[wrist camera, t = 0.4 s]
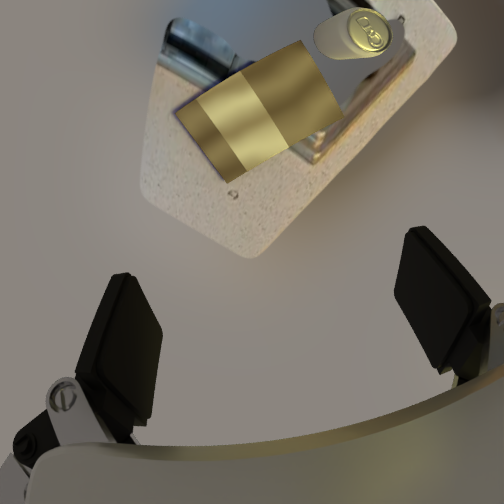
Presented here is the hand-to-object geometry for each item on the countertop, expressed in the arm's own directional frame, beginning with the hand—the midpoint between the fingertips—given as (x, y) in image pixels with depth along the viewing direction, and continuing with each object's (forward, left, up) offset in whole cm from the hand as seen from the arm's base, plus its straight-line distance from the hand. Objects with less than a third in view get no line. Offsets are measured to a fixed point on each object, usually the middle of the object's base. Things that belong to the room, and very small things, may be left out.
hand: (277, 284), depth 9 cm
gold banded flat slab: (0, +3, -35) cm, 35 cm away
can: (-4, +18, -35) cm, 40 cm away
